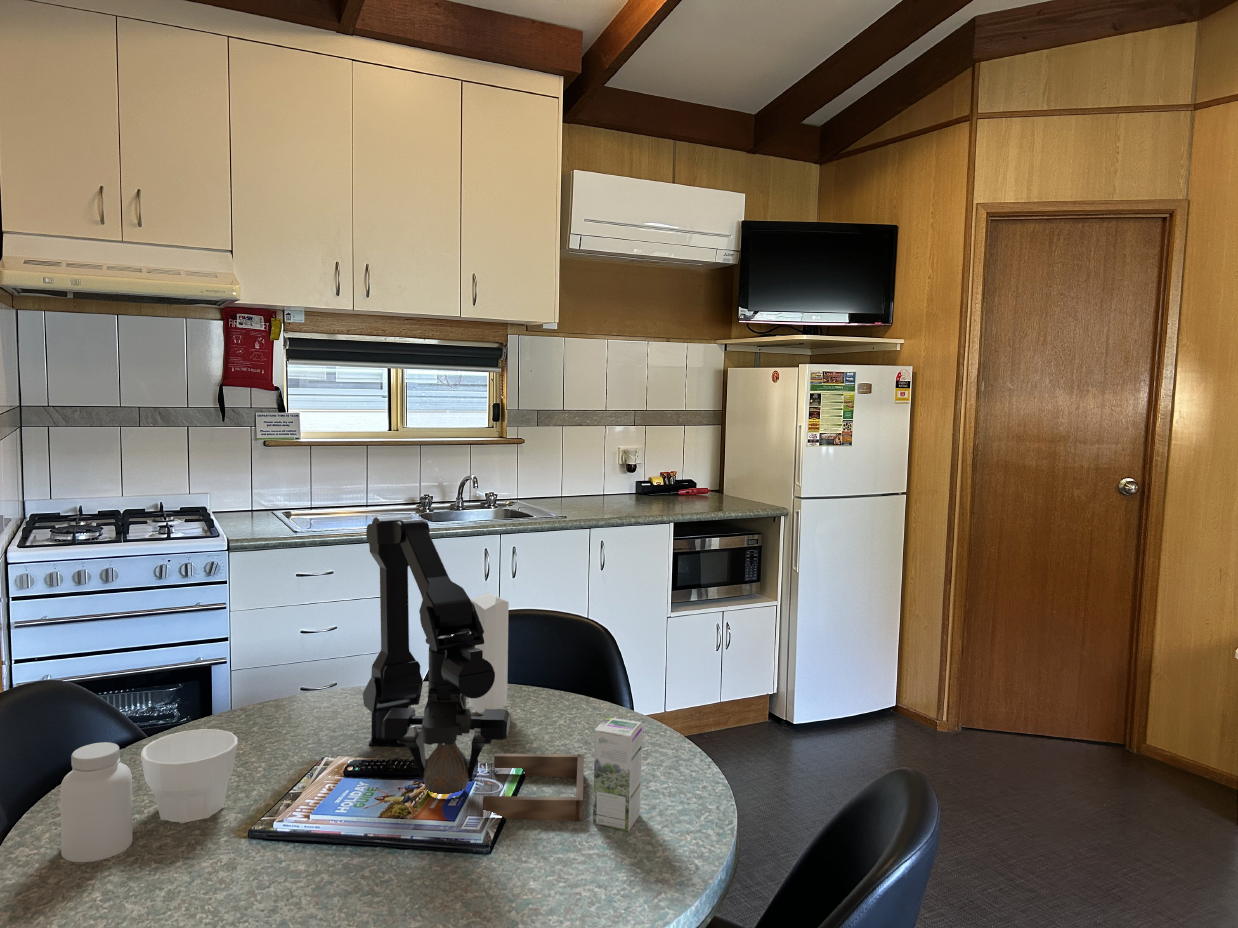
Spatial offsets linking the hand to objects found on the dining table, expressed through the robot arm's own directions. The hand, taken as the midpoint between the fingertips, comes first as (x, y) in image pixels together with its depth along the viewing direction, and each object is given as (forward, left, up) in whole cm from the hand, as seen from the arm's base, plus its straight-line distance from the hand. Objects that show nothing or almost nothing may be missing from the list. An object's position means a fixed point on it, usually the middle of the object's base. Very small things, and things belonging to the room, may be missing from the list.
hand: (446, 777), depth 133 cm
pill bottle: (-42, -19, -3) cm, 46 cm away
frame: (+14, 0, -3) cm, 14 cm away
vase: (0, 0, -3) cm, 3 cm away
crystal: (+2, +33, -3) cm, 34 cm away
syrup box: (+26, -7, -3) cm, 27 cm away
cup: (-35, -8, -3) cm, 36 cm away
